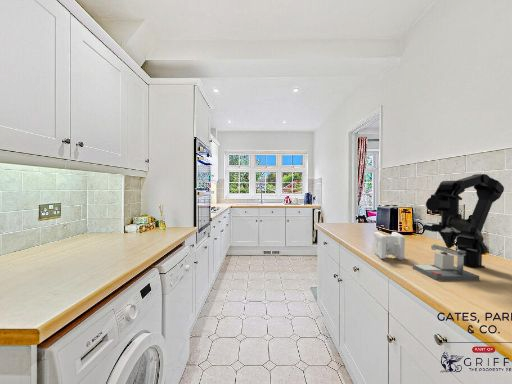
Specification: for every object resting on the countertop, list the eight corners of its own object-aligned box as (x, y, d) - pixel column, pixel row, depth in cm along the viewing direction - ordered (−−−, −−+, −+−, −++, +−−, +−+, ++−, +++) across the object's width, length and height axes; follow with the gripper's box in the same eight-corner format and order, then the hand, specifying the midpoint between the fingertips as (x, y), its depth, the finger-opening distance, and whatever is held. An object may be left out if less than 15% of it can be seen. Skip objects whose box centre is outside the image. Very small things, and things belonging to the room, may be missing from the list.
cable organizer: (405, 262, 116) (406, 236, 116) (380, 260, 118) (381, 235, 118) (394, 254, 131) (394, 231, 130) (372, 252, 133) (372, 230, 132)
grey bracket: (435, 262, 109) (436, 242, 109) (466, 274, 94) (467, 251, 94) (429, 262, 109) (429, 242, 109) (459, 274, 94) (460, 251, 94)
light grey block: (444, 265, 105) (445, 251, 105) (453, 269, 101) (454, 254, 101) (434, 265, 105) (434, 251, 105) (442, 269, 101) (442, 253, 101)
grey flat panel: (450, 268, 107) (450, 263, 107) (479, 280, 94) (479, 274, 94) (412, 268, 107) (412, 263, 107) (436, 280, 93) (436, 274, 93)
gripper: (442, 212, 99) (441, 252, 99) (489, 212, 99) (488, 253, 100) (423, 210, 110) (422, 246, 110) (465, 210, 110) (464, 246, 111)
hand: (449, 248), depth 107 cm, fingers closed
